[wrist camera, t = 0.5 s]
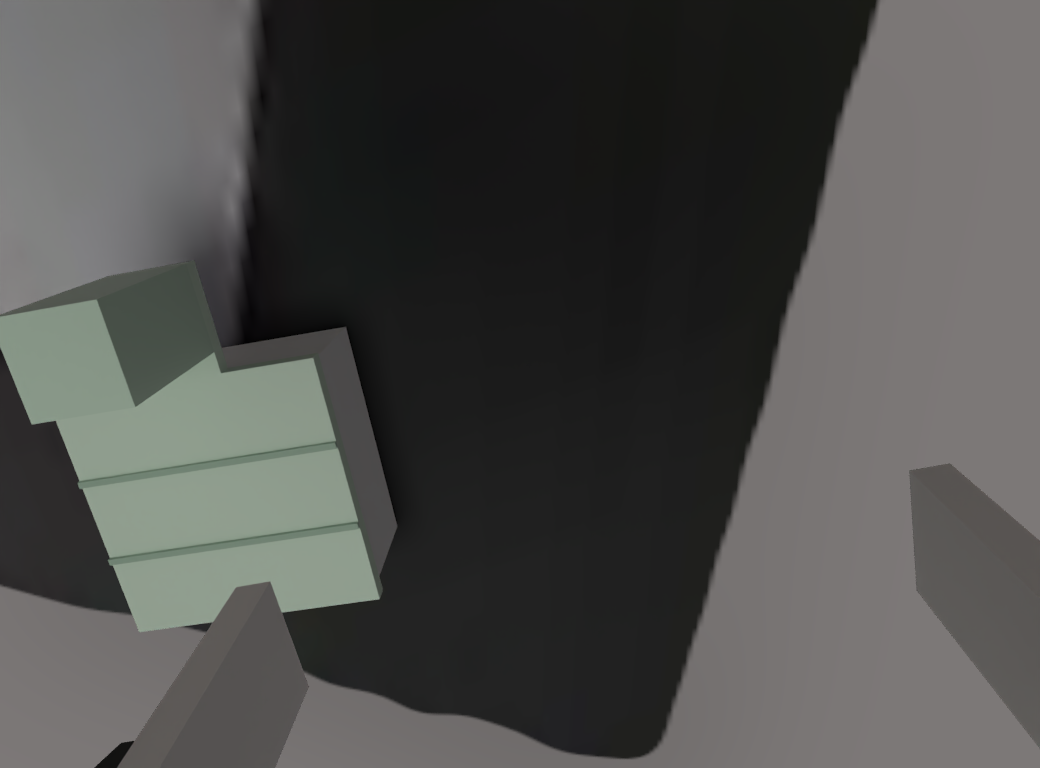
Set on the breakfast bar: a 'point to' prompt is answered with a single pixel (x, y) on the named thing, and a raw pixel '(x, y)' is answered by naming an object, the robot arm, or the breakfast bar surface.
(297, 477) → the green stepped block
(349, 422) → the tub
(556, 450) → the breakfast bar surface
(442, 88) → the breakfast bar surface
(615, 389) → the breakfast bar surface
